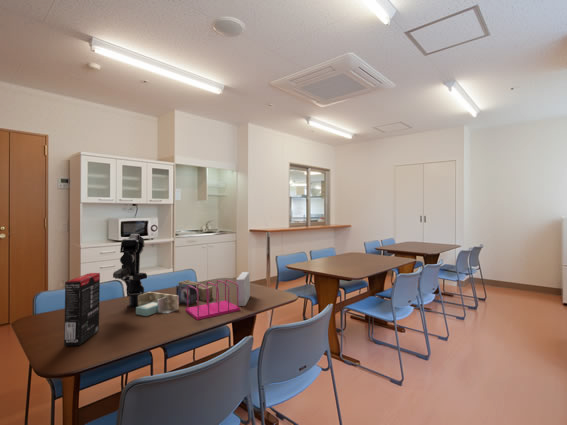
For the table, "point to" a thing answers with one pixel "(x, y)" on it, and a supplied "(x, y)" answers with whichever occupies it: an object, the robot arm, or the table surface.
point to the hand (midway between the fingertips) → (130, 291)
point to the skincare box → (243, 288)
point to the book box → (147, 309)
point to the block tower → (199, 289)
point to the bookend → (163, 306)
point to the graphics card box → (81, 308)
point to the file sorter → (212, 304)
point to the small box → (182, 293)
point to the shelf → (153, 297)
